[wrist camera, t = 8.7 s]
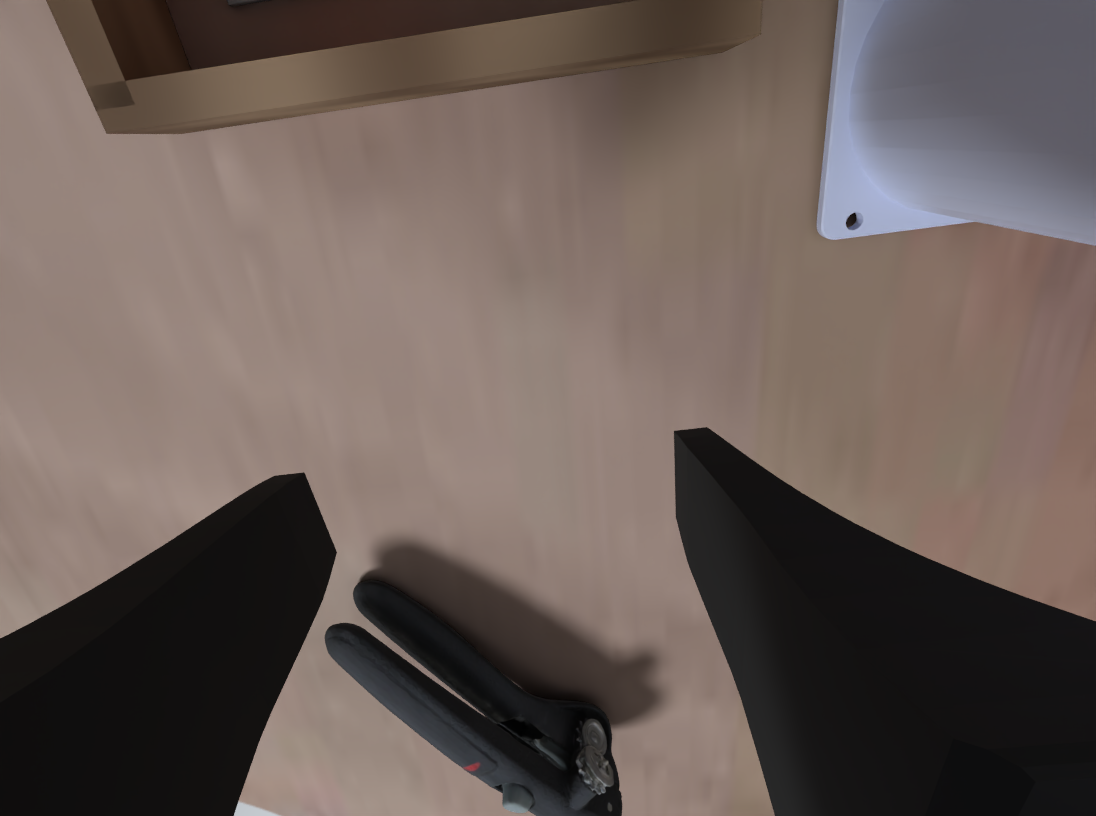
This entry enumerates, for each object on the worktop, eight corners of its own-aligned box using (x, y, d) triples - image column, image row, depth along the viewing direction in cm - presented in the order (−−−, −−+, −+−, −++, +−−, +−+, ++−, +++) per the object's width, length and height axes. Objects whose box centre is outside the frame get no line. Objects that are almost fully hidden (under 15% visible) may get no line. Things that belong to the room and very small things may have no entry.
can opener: (645, 722, 29) (666, 843, 24) (549, 769, 31) (550, 890, 26) (410, 532, 23) (373, 641, 18) (309, 606, 25) (251, 722, 20)
